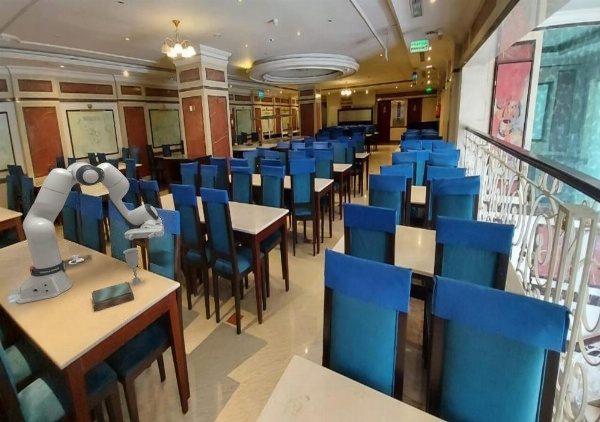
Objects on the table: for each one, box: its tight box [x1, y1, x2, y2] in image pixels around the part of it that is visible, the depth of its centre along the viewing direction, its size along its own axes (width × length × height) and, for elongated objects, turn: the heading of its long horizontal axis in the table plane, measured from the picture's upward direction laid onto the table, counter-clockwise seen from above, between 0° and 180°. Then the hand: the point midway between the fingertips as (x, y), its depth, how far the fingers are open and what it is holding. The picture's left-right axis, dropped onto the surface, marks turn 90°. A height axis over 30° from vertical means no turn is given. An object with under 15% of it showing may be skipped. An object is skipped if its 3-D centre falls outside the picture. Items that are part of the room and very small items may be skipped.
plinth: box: [91, 281, 135, 312], centre depth 151 cm, size 16×14×4 cm
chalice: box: [123, 247, 143, 286], centre depth 165 cm, size 7×7×18 cm
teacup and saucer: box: [68, 254, 85, 265], centre depth 196 cm, size 9×8×4 cm
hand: (139, 237), depth 173 cm, fingers open, 8 cm apart
